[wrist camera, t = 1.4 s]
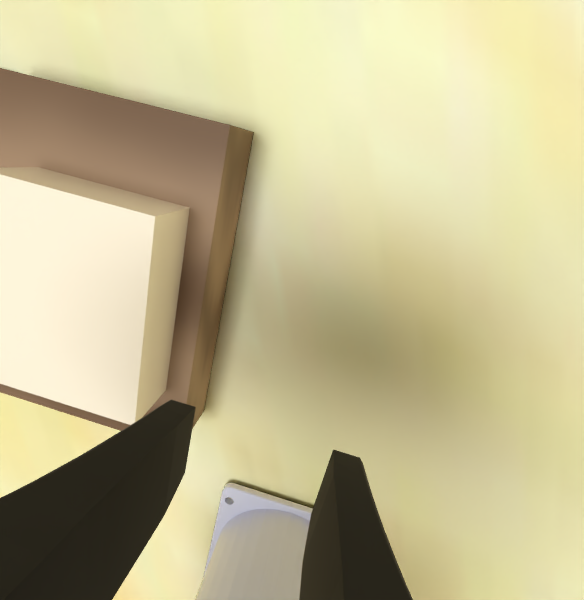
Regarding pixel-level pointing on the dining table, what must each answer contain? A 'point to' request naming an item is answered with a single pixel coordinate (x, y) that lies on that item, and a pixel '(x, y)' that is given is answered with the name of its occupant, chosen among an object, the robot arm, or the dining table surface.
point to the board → (145, 181)
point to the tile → (87, 291)
